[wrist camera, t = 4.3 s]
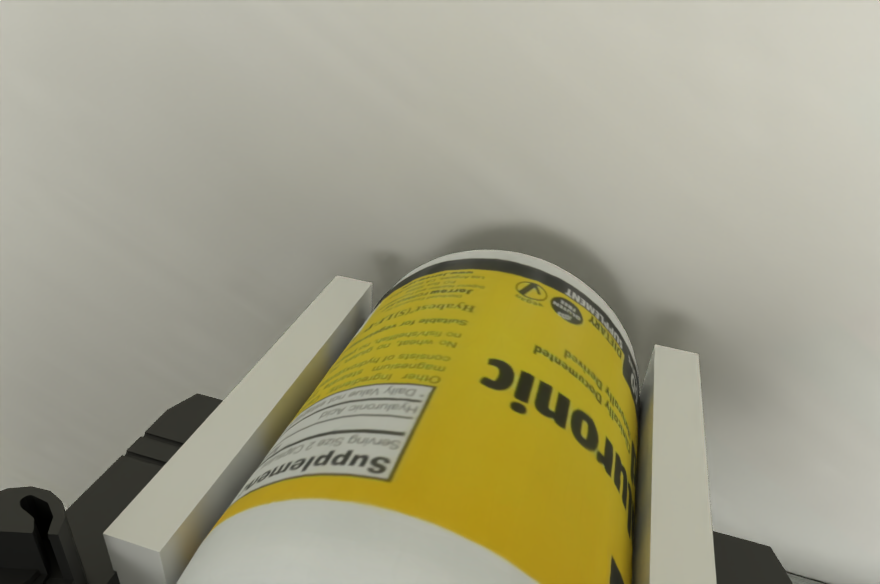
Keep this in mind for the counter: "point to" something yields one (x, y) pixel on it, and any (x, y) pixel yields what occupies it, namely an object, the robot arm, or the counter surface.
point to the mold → (801, 580)
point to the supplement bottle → (452, 443)
